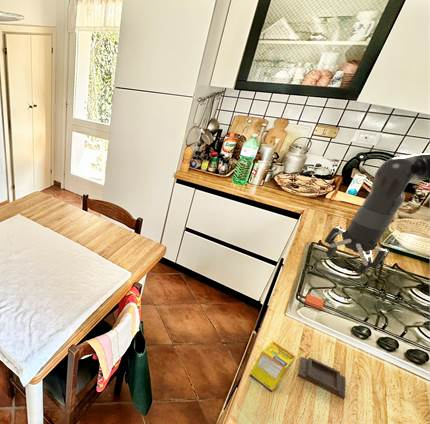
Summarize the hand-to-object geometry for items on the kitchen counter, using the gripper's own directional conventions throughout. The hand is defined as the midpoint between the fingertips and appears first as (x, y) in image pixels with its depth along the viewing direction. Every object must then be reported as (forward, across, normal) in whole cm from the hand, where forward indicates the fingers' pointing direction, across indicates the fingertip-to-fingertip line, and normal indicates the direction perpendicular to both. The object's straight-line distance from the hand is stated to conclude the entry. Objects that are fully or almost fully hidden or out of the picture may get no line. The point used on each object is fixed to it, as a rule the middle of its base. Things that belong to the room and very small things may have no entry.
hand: (343, 264), depth 98 cm
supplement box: (+19, -13, +41) cm, 47 cm away
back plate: (+19, -18, +26) cm, 37 cm away
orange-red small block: (+19, +1, +2) cm, 19 cm away
